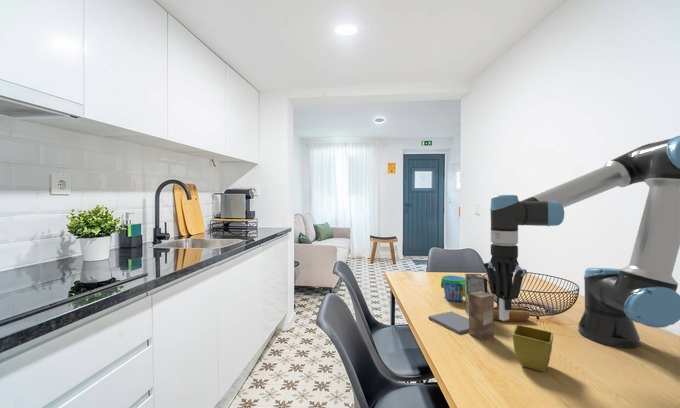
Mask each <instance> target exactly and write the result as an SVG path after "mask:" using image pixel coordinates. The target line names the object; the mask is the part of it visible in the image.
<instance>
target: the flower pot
mask: <svg viewBox="0 0 680 408" xmlns="http://www.w3.org/2000/svg"><path fill="white" fill-rule="evenodd" d="M553 340H554V332H553V331H548V330H544V329H540V328H536V327H535V328H534V327H531V326H526V325H522V324H517V325H516V326H515V328H514V330H513V331H512V341H513V349H514V353H515V356H516V359H517V361H518V362H519V364H520V365H521V366H522V367H525V368H529V369H532V370H536V371H538V372H545V370H546V369H547V368H548V366H549V365H550V361H551V354H552V349H553Z"/></svg>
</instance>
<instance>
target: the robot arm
mask: <svg viewBox="0 0 680 408" xmlns="http://www.w3.org/2000/svg"><path fill="white" fill-rule="evenodd" d="M643 182H644V183H645V184H646V185H647V186H648V188H649V189H648V194H647V198H646V200H645V204H644V208H643V212H642V214H641V218H640V223H639V227H638V231H637V233H636V234H637V235H636V237H635V241H634V245H633V248H632V254H631V257H630V260H629V264H628V265H627V266H625V267H623V268H609V267H608V268H606V267H588V268H586V269H585V270H584V277H583V280H584V311H583V313H582V316H581V317H580V320H579V322H578V329H577V331H578V333H579V334H580V335H582V336H583V337H585V338H587V339H589V340H591V341H594V342H597V343H599V344H603V345H608V346H613V347H618V348H619V347H620V348H625V349H626V348H628V349H629V348H637V347H639V346H640V345H641V342H640V341H641V338H640V335H639V333H638V330H637V328H636V326H635V323H637V324H641V325H643V326H646V327H650V328H667V327H668V326H669V327H670V326H671V325H674V324H676V323H678V322H679V321H680V294H679V293H678V292H677V290H678V286H679V283H678V282H677V280H676V279H675V278H674V277H673V272H674V268H675V265H676V261H677V258H678V254H679V251H680V135H678V136H677V135H676V136H675V137H672V138H667V139H663V140H659V141H655V142H651V143H647V144H644V145H641V146H639V147H636V148H635V149H632V150H630V151H628V152H625V153H624V154H622V155H619V156H617V157H616V158H614V159H611V160H609V161H606V163H604V166H602V167H600V168H598V169H595V170H592V171H590V172H587V173H585V174H583V175H581V176H578V177H576V178H572V179H571V180H569V181H567V182H562V183H561V184H558V185H556V186H554V187H551V188H549V189H547V190H545V191H541V192H540V193H538V194H534V195H533V196H530V197H528V198H525V199H522V200H519V197H518V195H516V194H501V195H500V194H495V195H493V196H492V197H491V198H490V199H491V200H490V209H489V211H490V242H491V243H492V244H490V255H491V257H490V261H488V262H484V263H483V266H484V268H485V270H486V276H487V281H488V284H489V289H490V294H492V295H494V296H495V297H496V306H497V307H499V319H500V320H499V321H507V320H509V310H511V307H512V300H517V299H518V298H519V296H520V295H519V294H520V292H521V291H520V290H521V287H522V284H523V280H524V277H525V275H526V274H527V269H525V268H524V269H523V268H522V267H521V266H520V264H519V262H518V261H519V260H518V257H519V246H518V245H517V244H519V226H535V227H537V226H539V227H540V226H543V227H551V226H552V227H553V226H554V227H556V226H560V225H561V224H562V223H563V221H564V220H565V208H566V207H569V206H572V205H574V204H577V203H580V202H582V201H584V200H586V199H589V198H592V197H594V196H596V195H599V194H602V193H604V192H606V191H609V190H611V189H614V188H616V187H619V188H625V187H628V186H630V185H633V184H634V185H635V184H637V183H643Z"/></svg>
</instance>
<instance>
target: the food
mask: <svg viewBox="0 0 680 408" xmlns="http://www.w3.org/2000/svg"><path fill="white" fill-rule="evenodd" d="M530 316H531V314H530V310H529V308H525V307H523V308H522V307H520V306H519V307H516V306H515V307H514V306H511V310H509V320H506V322H507V321H508V322H525V321H528V320H529V319H530ZM494 320H498V321H501V320H500V319H499V307H497V305H496V306H494Z"/></svg>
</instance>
